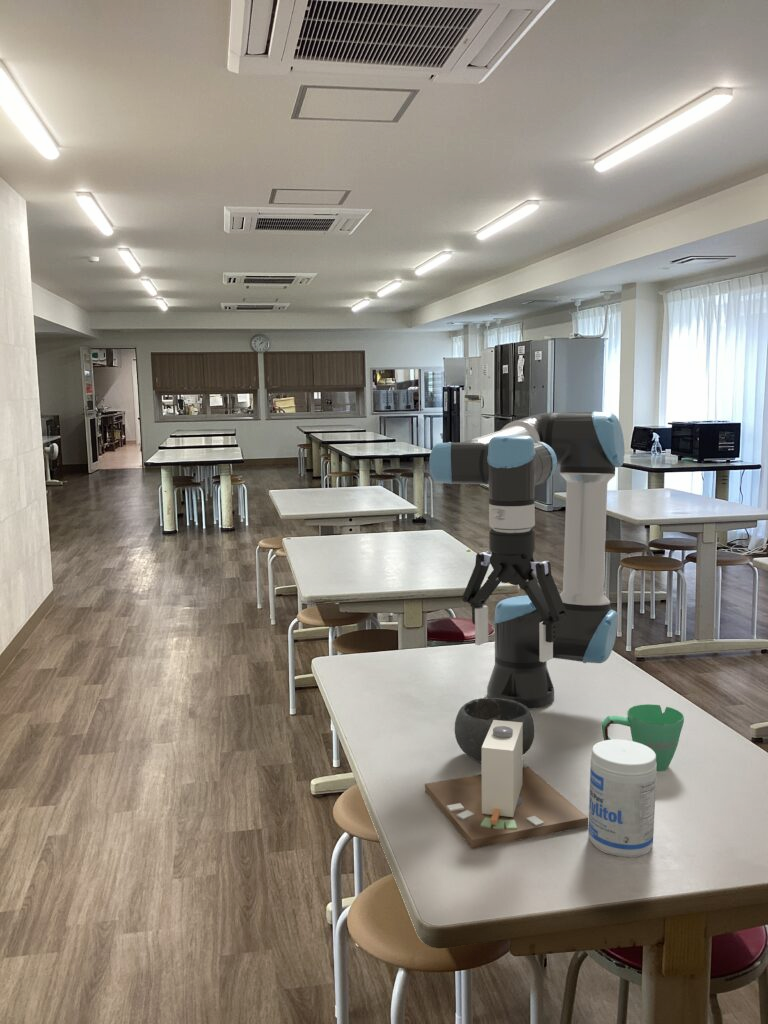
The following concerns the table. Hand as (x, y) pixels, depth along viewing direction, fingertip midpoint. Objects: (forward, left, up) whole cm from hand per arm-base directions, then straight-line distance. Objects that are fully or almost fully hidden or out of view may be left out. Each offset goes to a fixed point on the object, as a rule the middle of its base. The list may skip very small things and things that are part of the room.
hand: (513, 651), depth 141 cm
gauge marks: (+8, +10, -23) cm, 27 cm away
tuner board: (+5, +6, -25) cm, 26 cm away
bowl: (-2, -12, -25) cm, 28 cm away
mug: (-26, 0, -25) cm, 36 cm away
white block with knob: (+6, +7, -23) cm, 25 cm away
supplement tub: (-7, +22, -25) cm, 34 cm away
